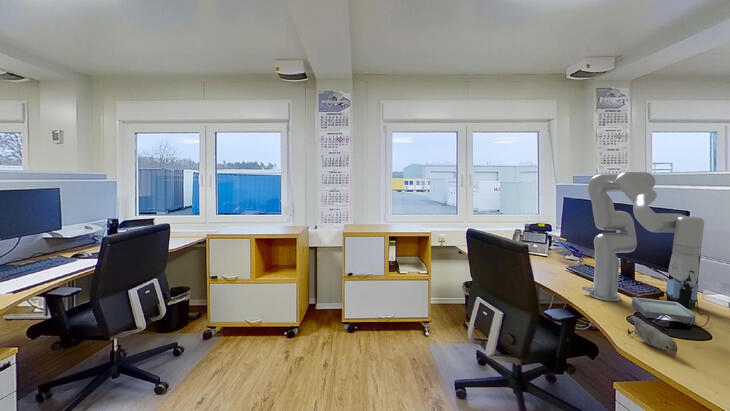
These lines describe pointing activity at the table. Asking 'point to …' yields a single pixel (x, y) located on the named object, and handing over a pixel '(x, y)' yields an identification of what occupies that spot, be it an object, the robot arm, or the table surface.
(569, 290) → the table surface
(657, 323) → the table surface
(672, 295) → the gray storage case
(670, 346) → the decorative bird
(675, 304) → the dock
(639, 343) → the table surface
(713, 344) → the table surface
